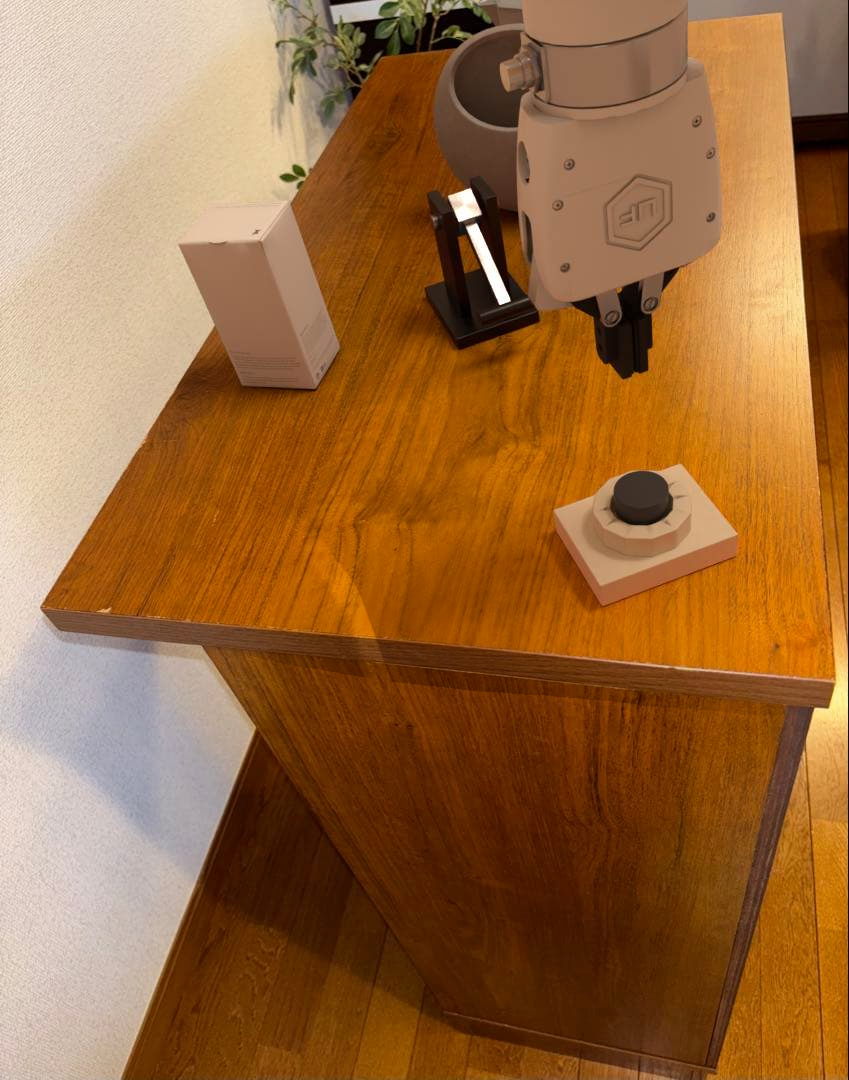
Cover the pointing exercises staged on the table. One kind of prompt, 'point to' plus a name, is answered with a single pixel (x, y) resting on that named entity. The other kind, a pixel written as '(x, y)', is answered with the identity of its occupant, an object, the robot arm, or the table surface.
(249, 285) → the cosmetic box
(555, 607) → the table surface
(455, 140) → the planter
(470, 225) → the lever
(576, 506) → the block
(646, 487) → the button
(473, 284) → the bracket
